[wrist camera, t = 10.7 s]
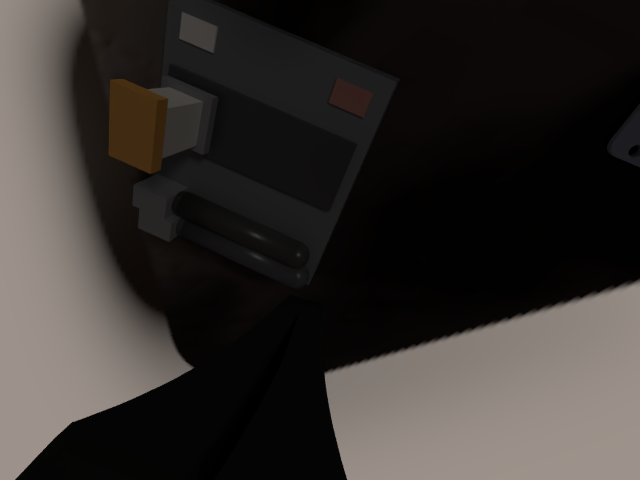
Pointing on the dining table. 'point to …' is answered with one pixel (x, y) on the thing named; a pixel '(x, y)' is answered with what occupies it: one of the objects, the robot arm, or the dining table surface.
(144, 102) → the breaker toggle
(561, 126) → the dining table surface
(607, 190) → the dining table surface
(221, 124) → the breaker box
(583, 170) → the dining table surface
